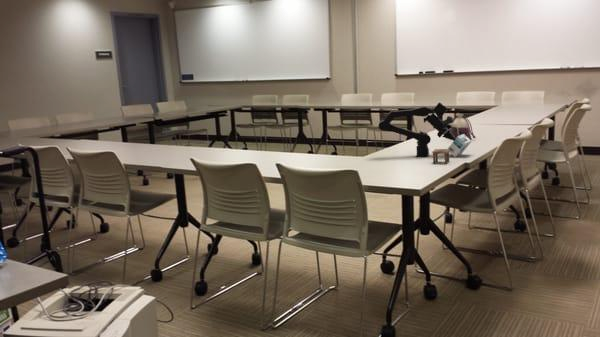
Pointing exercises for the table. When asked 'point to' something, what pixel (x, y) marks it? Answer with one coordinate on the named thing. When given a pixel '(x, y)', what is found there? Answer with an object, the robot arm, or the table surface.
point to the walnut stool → (440, 151)
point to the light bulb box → (459, 145)
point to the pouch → (461, 126)
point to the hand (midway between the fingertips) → (455, 140)
